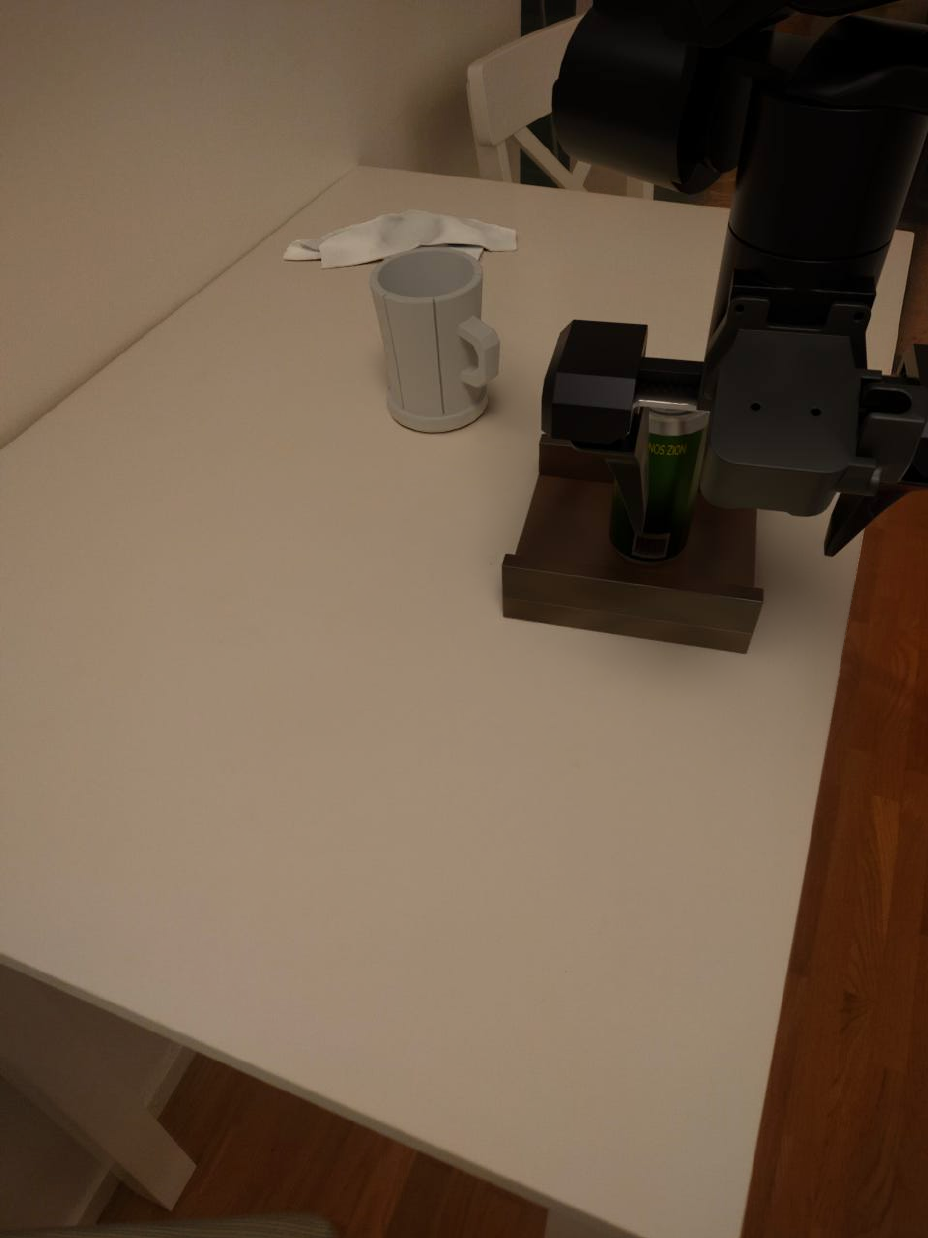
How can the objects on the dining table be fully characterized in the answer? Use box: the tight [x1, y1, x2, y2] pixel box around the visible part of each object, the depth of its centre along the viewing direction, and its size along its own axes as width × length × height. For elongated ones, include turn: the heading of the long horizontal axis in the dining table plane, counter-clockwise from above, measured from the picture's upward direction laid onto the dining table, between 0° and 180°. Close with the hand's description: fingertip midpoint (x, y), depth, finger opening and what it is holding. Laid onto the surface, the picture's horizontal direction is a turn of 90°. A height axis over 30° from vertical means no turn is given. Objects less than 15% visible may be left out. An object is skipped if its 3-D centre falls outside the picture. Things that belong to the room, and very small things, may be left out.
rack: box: [500, 433, 765, 655], centre depth 57 cm, size 16×14×5 cm
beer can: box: [609, 407, 710, 567], centre depth 52 cm, size 5×5×12 cm
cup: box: [368, 247, 501, 434], centre depth 67 cm, size 10×9×12 cm
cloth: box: [282, 208, 518, 270], centre depth 92 cm, size 26×14×2 cm, turn 80°
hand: (731, 539), depth 41 cm, fingers open, 9 cm apart
